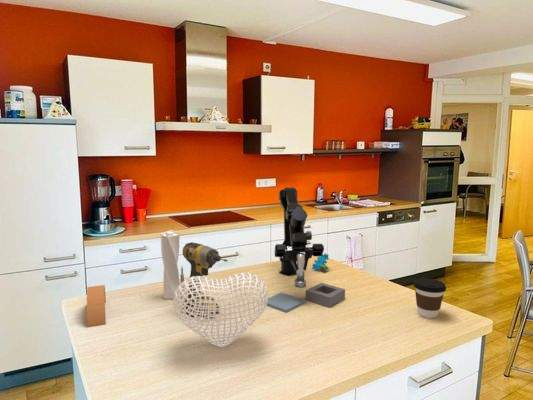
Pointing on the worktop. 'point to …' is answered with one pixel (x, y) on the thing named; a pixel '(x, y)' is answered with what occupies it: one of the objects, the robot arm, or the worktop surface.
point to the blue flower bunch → (321, 262)
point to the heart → (219, 282)
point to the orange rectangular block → (96, 306)
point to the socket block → (325, 294)
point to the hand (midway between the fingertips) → (301, 270)
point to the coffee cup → (429, 296)
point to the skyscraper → (171, 263)
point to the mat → (284, 302)
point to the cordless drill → (200, 268)
